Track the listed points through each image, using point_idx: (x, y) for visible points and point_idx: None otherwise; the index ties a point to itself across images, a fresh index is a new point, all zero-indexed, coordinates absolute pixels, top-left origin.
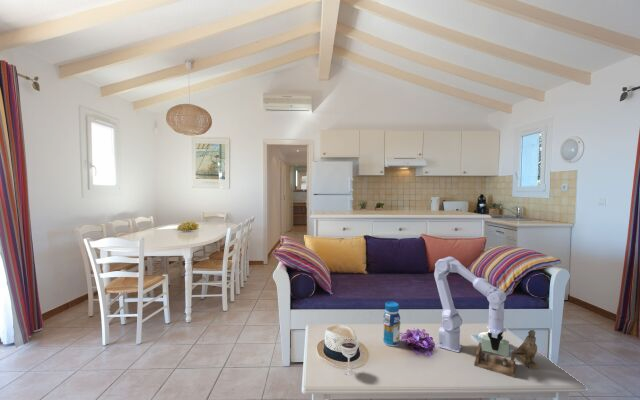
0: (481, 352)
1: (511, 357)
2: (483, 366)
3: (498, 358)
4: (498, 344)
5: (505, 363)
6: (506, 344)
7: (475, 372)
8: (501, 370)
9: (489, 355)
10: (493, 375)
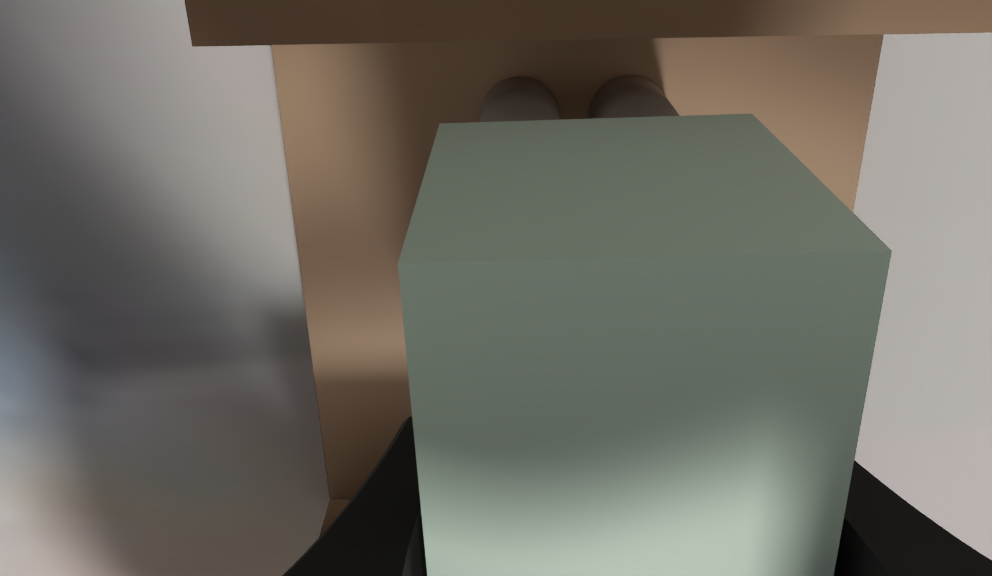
0: (349, 496)
1: (633, 29)
2: None
3: (378, 240)
4: (952, 552)
5: None
6: (840, 330)
7: (987, 474)
8: (844, 157)
9: (372, 383)
10: (964, 249)
